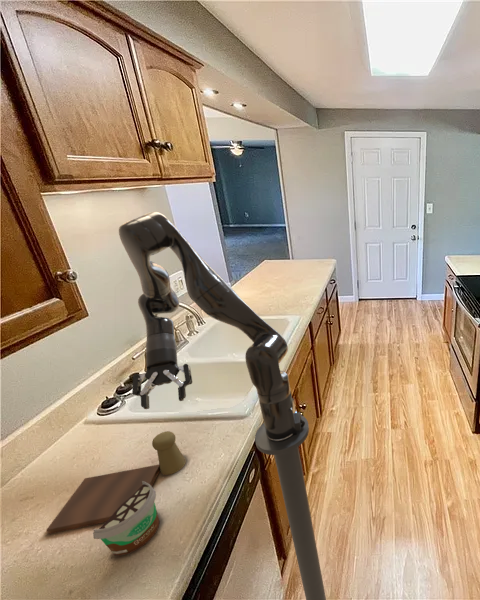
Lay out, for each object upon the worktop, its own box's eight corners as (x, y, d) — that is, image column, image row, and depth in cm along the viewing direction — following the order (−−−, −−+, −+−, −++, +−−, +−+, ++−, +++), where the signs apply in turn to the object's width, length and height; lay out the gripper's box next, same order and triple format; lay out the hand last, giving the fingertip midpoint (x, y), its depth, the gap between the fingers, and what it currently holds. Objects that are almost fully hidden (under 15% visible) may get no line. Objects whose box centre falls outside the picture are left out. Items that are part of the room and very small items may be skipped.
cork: (183, 453, 97) (172, 424, 93) (188, 466, 93) (177, 436, 89) (158, 465, 93) (146, 435, 89) (162, 479, 89) (150, 448, 85)
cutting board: (161, 468, 92) (160, 464, 92) (137, 515, 80) (135, 511, 79) (86, 482, 89) (84, 478, 88) (48, 534, 76) (46, 530, 75)
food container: (132, 568, 69) (115, 537, 65) (107, 562, 70) (90, 532, 66) (178, 511, 80) (166, 482, 77) (156, 507, 81) (144, 478, 78)
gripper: (127, 353, 94) (128, 410, 89) (184, 342, 99) (188, 395, 94) (138, 359, 101) (140, 413, 95) (191, 349, 106) (196, 399, 100)
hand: (164, 404), depth 95 cm, fingers open, 8 cm apart
